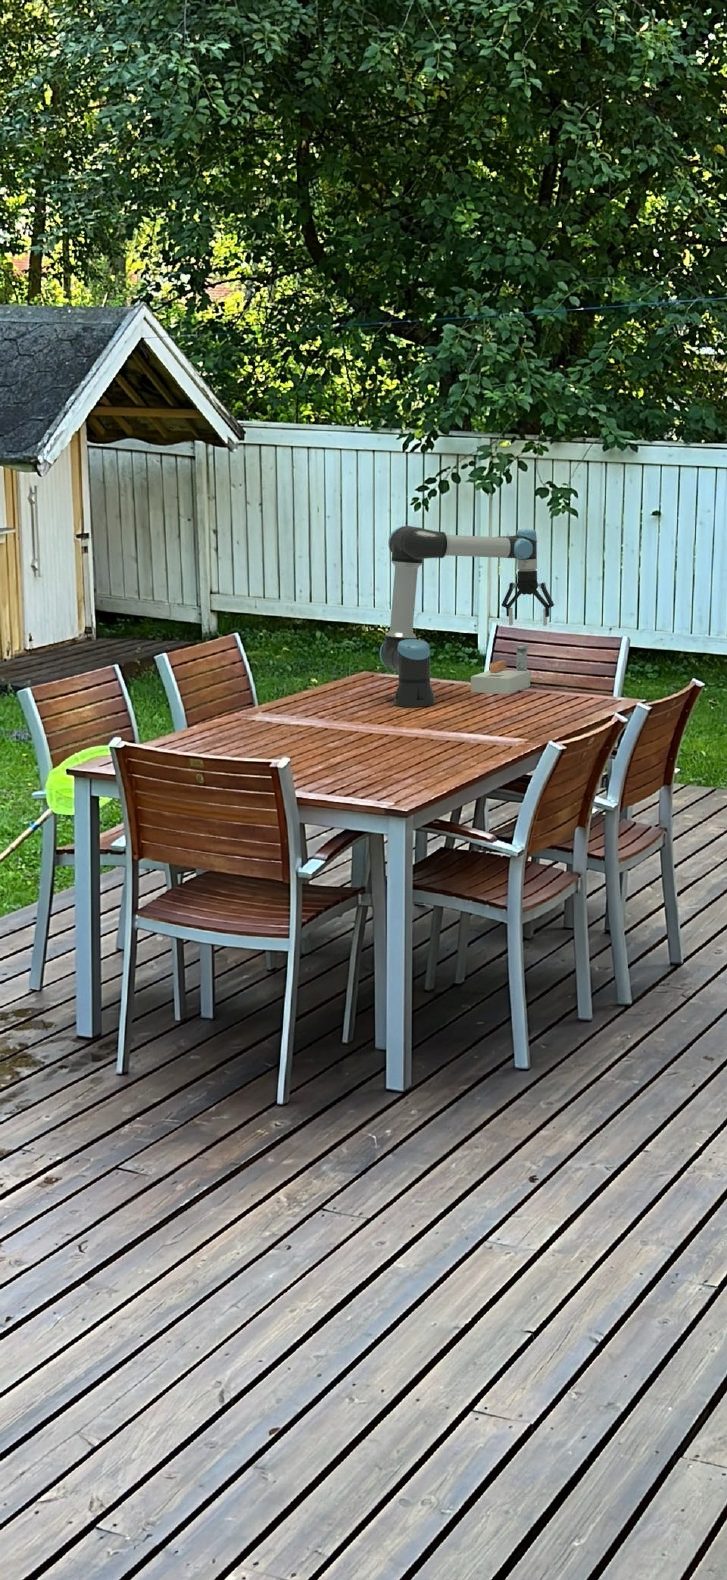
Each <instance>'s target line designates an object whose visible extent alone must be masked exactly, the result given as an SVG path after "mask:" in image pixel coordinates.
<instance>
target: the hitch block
mask: <svg viewBox="0 0 727 1580" xmlns="http://www.w3.org/2000/svg"><path fill="white" fill-rule="evenodd" d="M530 673H531V671H529V670H527V671H517V670H511V669H510V670H509V669H503V670H500V671H499V672H490V669H489V670H487V671H484V672H480V673H477V674H474V675H472V676H470V692H471V693H482V694H498V695H511V694H514V693H516V691H517V692H519V691H518V690H520V691H522V690H524V689H528V688H530V687H531V676H530Z"/></svg>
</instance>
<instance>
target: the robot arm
mask: <svg viewBox="0 0 727 1580" xmlns="http://www.w3.org/2000/svg"><path fill="white" fill-rule="evenodd" d="M537 542H538V538H537V531H536V530H535V529H531V528H529V529H527V528H522V529H518V530H517V531H516V535H505V536H504V535H503V536H498V535H497V536H482V535H480V536H479V535H477V536H476V535H475V536H474V535H461V534H460V535H456V534H447V533H446V532H445V531H437V530H432V529H428V528H424V527H418V526H412V525H404V526H403V525H402V526H399V527H397V528H395V529H394V530H393V531H392V532H391V533H390V535H389V538H388V545H387V546H388V548H389V551H390V552H391V563H392V565H393V566H394V574H393V575H394V577H393V585H392V586H393V589H392V601H391V602H392V603H391V613H390V622H389V623H390V624H389V625H390V626H389V631H388V632H386V634H385V636H384V641H383V643H382V644H381V645H380V647H379V648H380V649H379V658H380V661H381V663H382V664H383V665H384V667H385V668H388V669H389V670H391V671H393V672H397V673H398V684H397V685H398V686H397V688H396V692H395V695H394V699H393V702H394V704H393V705H395V706H397V707H406V708H422V707H430V706H434V705H436V697H435V694H434V691H433V688H432V685H431V663H430V662H431V651H430V644H429V643H428V642H427V641H425V640H422V639H417V635H416V634H414V631H413V630H414V618H415V609H416V595H417V581H418V570H419V567H421V566H422V565H423V560H425V559H427V560H428V559H444V558H445V557H446V556H449V557H453V556H454V557H473V558H474V557H476V558H477V557H478V558H479V557H480V558H498V559H499V558H500V559H503V558H504V559H516V560H517V561H516V562H517V563H516V564H517V565H516V567H517V570H518V571H517V572H516V573H517V582H516V583H515V582H513V581H512V582H510V583H509V587H508V589H507V592H506V594H505V597H504V599H503V601H502V603H501V607H502V608H506V609H505V611H506V612H505V613H506V614H505V615H506V617H507V618H508V626H513V625H514V622H513V618H514V617H513V616H514V614H513V613H514V612H513V607H512V606H513V605H514V603H515V602H516V601H517V600H518V598H519V597H520V596H521V595H523V596H524V595H528V596H529V595H531V596H532V595H533V596H534V597H535V598H536V599H537V600H538V602H540V603H541V605H542V607H544V608H543V611H542V621H543V622H542V623H543V627H546V626H547V625H548V617H550V608H553V607H554V606H555V604H554V600H553V599H552V597H551V596H550V593H549V591H548V589H547V586H546V582H539V583H538V570H537V569H538V557H537V556H538V555H537V553H538V552H537V549H538V547H537V546H538V543H537ZM515 588H517V589H518V591H517V592H516V593H515V595H514V596H513V597H512V598H511V595H512V593H513V592H514V589H515ZM538 588H539V589H540V590H541V591H542V594H543V595H541V594H540V592H539V591H538V590H537V589H538ZM543 596H544V597H545V598H544V597H543ZM510 598H511V599H510ZM545 599H546V600H545Z"/></svg>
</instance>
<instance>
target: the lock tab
mask: <svg viewBox="0 0 727 1580" xmlns="http://www.w3.org/2000/svg"><path fill="white" fill-rule="evenodd" d="M507 668H508V667H507V660H504V659H503V660H498V661H496V662H490V663H489V670H490V672H499V671H500V670H507Z"/></svg>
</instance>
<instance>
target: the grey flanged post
mask: <svg viewBox="0 0 727 1580" xmlns="http://www.w3.org/2000/svg"><path fill="white" fill-rule="evenodd" d="M514 649H516V671H528V649H529V645H528V644H517V645H514ZM531 673H532V672H530V677H531V676H532V675H531Z"/></svg>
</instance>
